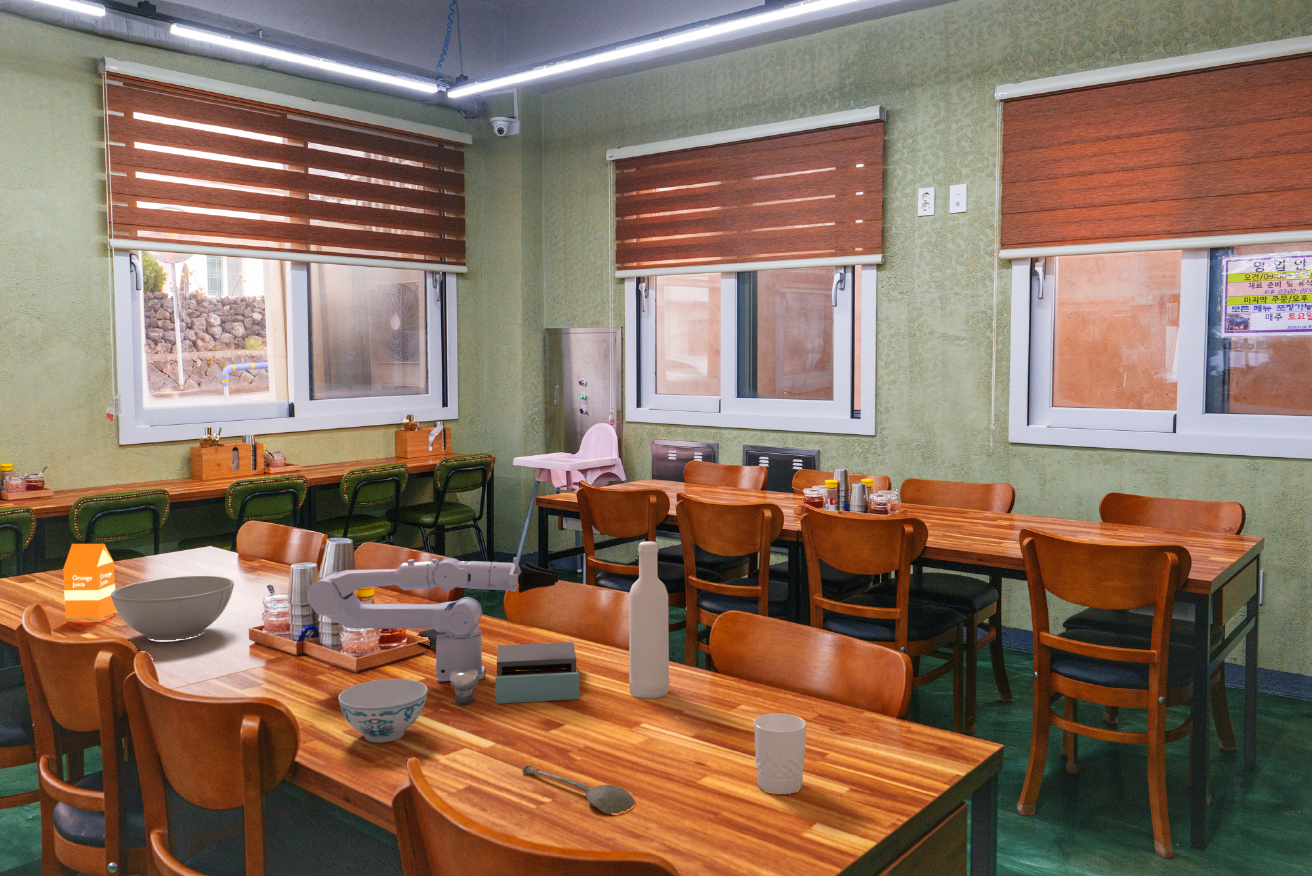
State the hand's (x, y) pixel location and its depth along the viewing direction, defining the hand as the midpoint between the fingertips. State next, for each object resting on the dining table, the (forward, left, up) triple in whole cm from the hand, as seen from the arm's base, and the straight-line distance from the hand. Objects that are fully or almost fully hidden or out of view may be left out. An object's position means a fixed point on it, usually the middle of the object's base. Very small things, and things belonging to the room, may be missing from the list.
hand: (556, 578), depth 200 cm
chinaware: (-31, -29, -21) cm, 48 cm away
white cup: (+32, -60, -21) cm, 71 cm away
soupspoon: (0, -57, -21) cm, 61 cm away
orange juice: (-119, +67, -21) cm, 138 cm away
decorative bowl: (-91, +46, -21) cm, 104 cm away
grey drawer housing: (-4, -1, -20) cm, 21 cm away
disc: (-18, -14, -17) cm, 29 cm away
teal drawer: (-4, -11, -20) cm, 23 cm away
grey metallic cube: (-18, -14, -20) cm, 31 cm away
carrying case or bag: (-25, +27, -21) cm, 42 cm away
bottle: (+18, -14, -21) cm, 31 cm away
